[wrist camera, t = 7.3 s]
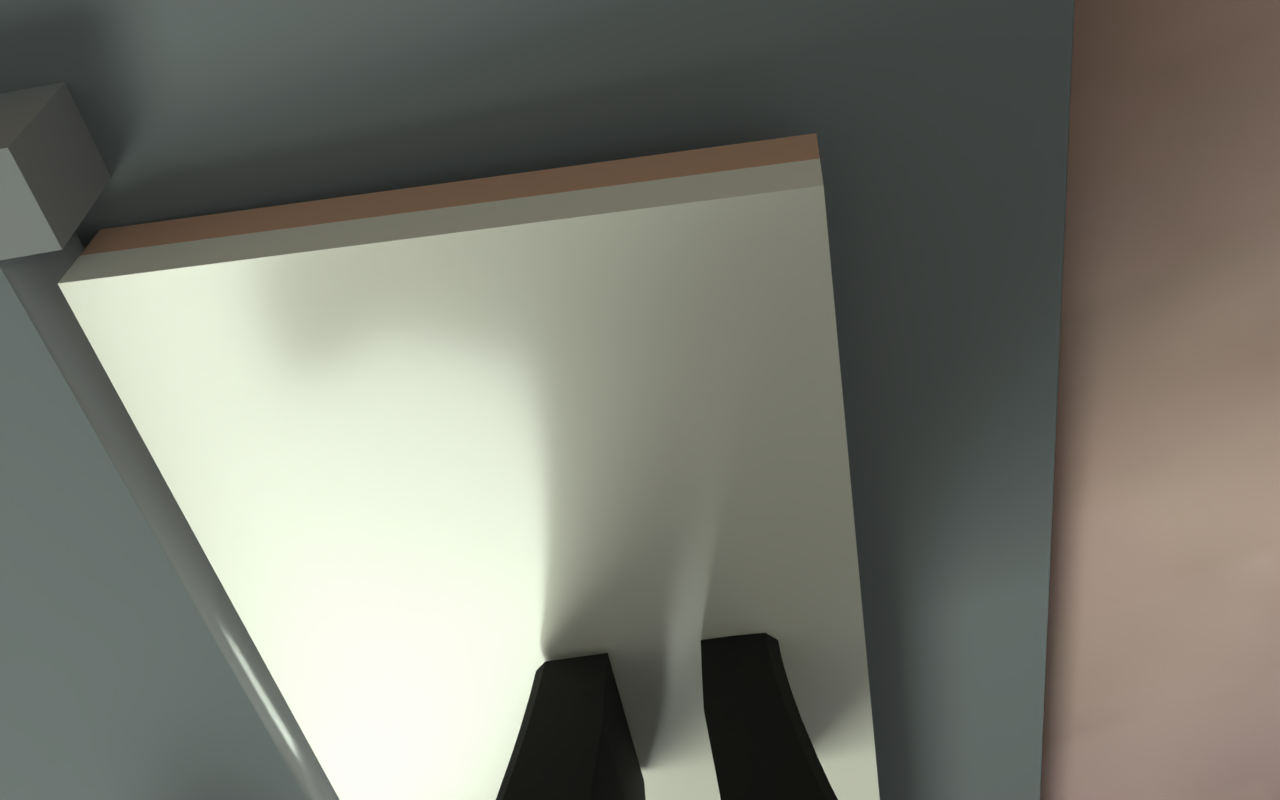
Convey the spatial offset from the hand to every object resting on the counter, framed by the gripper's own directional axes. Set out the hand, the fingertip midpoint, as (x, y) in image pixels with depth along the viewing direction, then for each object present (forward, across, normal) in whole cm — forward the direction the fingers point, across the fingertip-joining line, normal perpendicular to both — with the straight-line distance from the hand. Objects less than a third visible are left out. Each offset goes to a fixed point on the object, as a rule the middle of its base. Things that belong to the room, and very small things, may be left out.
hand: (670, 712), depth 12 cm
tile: (0, +1, 0) cm, 1 cm away
